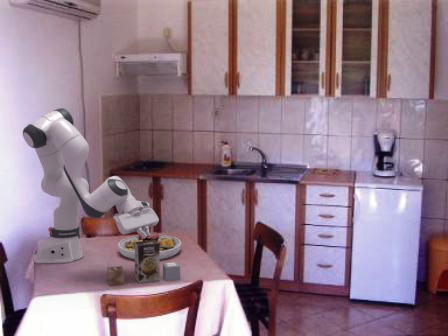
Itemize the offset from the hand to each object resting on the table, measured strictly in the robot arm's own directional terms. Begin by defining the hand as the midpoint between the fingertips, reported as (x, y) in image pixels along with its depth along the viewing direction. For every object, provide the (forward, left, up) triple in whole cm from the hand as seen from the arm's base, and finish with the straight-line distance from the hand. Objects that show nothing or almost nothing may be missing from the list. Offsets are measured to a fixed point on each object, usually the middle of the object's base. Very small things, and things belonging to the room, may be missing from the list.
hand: (147, 237), depth 238 cm
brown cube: (-13, +1, -19) cm, 23 cm away
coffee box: (0, +1, -19) cm, 19 cm away
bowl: (+8, +38, -19) cm, 43 cm away
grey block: (+10, 0, -19) cm, 21 cm away
